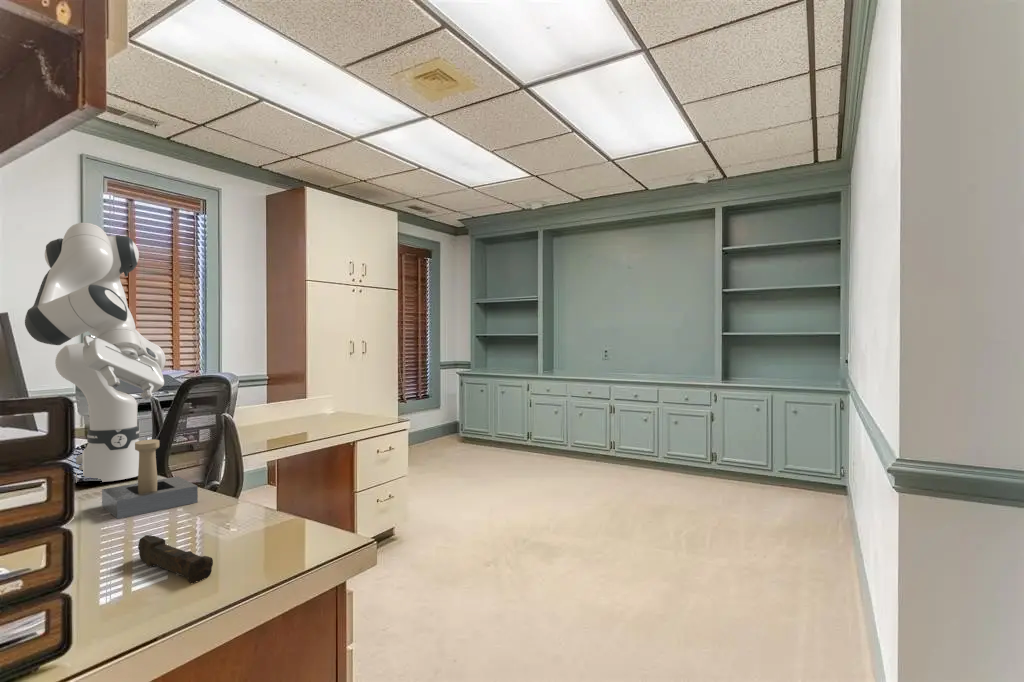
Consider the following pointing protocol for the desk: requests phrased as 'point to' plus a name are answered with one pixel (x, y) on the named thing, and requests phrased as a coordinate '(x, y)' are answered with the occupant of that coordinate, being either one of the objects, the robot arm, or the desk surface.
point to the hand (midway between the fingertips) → (131, 392)
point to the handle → (147, 465)
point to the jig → (149, 497)
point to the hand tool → (174, 559)
